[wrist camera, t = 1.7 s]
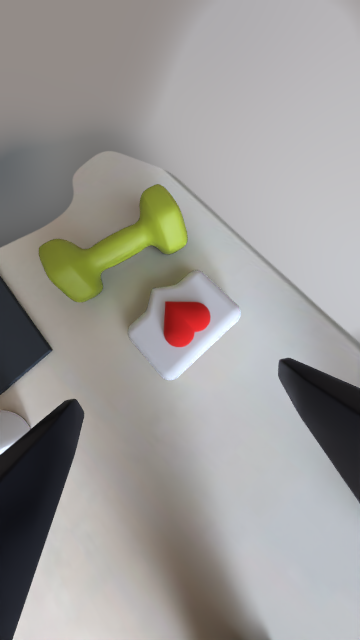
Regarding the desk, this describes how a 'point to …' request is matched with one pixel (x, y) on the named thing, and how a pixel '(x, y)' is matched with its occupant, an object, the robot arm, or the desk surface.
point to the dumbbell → (115, 246)
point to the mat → (17, 340)
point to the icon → (182, 323)
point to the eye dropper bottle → (11, 429)
